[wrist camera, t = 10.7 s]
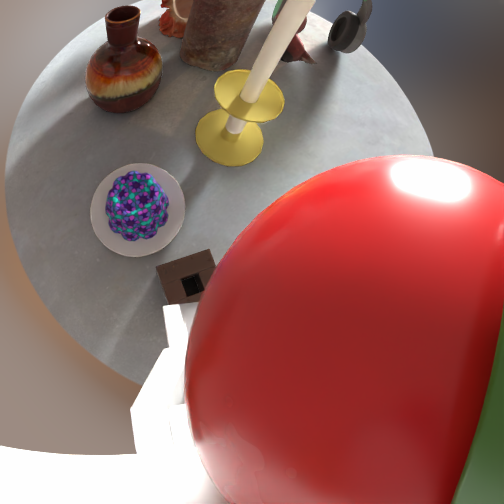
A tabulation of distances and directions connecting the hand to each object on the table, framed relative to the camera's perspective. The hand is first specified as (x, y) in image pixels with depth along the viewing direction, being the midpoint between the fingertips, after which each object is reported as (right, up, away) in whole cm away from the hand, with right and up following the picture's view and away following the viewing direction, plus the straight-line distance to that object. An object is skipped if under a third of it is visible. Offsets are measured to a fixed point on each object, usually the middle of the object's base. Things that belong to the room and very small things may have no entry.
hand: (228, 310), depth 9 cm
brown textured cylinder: (-7, +35, +31) cm, 47 cm away
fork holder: (-7, -2, +24) cm, 25 cm away
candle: (-2, +18, +30) cm, 35 cm away
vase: (-18, +25, +26) cm, 41 cm away
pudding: (-13, +7, +24) cm, 28 cm away
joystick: (-3, -2, +9) cm, 9 cm away
